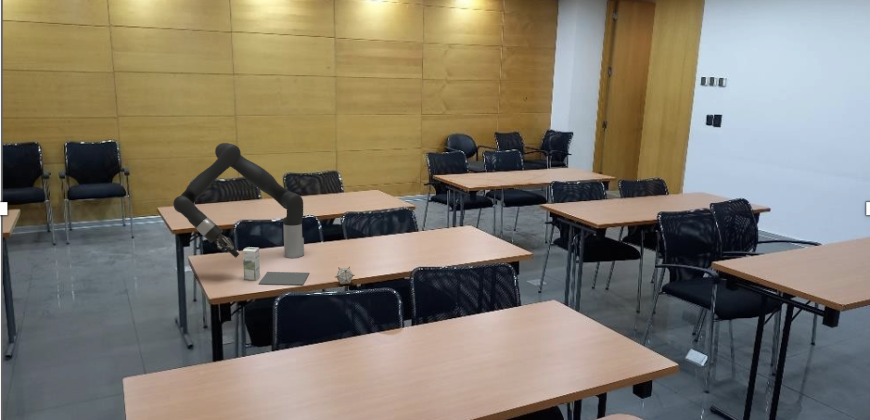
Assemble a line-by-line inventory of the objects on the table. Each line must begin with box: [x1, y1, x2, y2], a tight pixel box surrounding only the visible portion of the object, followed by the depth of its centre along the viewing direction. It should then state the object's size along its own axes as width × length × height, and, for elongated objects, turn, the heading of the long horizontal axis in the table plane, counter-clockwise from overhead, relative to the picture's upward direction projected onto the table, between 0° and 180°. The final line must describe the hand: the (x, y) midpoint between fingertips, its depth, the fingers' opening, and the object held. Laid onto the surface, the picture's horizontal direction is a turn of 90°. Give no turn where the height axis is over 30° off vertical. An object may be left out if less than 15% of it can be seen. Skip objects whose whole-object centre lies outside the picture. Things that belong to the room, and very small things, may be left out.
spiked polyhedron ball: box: [334, 266, 356, 287], centre depth 284 cm, size 9×8×10 cm
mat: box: [258, 271, 310, 287], centre depth 289 cm, size 20×16×1 cm
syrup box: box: [242, 246, 261, 281], centre depth 287 cm, size 6×6×14 cm
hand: (237, 255), depth 287 cm, fingers closed
